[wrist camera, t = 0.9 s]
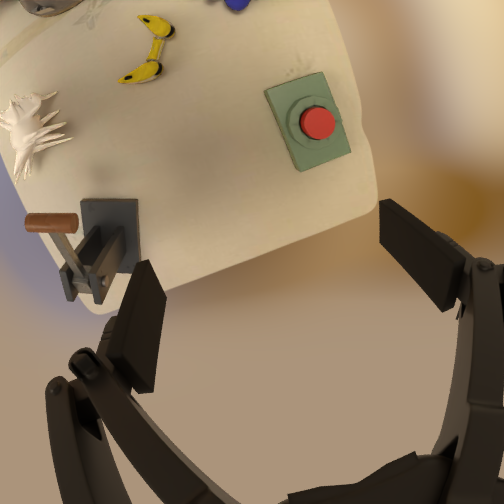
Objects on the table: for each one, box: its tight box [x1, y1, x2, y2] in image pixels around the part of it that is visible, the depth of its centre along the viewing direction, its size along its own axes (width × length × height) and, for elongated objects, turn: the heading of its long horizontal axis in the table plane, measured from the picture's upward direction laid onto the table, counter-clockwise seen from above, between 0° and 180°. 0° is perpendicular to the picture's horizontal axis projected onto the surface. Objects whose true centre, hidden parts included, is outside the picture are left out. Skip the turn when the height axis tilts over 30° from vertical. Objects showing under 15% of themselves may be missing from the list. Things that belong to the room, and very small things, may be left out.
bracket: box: [59, 199, 141, 305], centre depth 35 cm, size 12×9×14 cm
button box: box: [264, 72, 351, 172], centre depth 35 cm, size 12×8×4 cm, turn 23°
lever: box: [25, 213, 92, 294], centre depth 26 cm, size 13×6×2 cm, turn 173°
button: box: [300, 107, 335, 139], centre depth 32 cm, size 4×4×2 cm
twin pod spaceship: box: [117, 15, 175, 84], centre depth 28 cm, size 10×6×4 cm, turn 164°
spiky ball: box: [0, 91, 73, 185], centre depth 28 cm, size 11×12×8 cm
